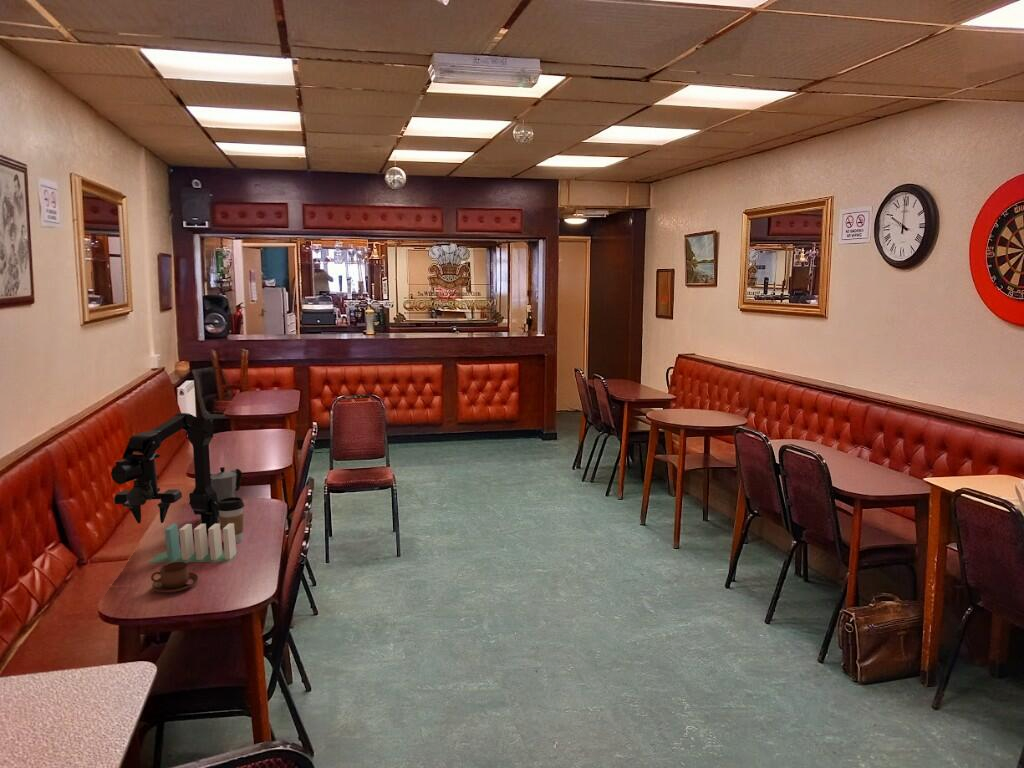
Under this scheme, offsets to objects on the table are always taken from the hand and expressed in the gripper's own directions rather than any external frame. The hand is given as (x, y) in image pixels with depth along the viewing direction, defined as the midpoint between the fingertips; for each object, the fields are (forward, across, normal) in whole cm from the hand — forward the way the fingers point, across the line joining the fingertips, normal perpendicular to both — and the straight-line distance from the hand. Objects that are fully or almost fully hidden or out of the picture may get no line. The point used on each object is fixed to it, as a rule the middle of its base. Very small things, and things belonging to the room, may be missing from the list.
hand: (150, 522), depth 229 cm
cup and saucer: (+12, +16, -20) cm, 29 cm away
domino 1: (+11, +6, 0) cm, 13 cm away
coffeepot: (+12, +7, +43) cm, 45 cm away
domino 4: (+11, +20, 0) cm, 23 cm away
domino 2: (+11, +11, 0) cm, 16 cm away
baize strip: (+12, +13, 0) cm, 18 cm away
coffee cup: (+12, +20, +13) cm, 27 cm away
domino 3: (+11, +15, 0) cm, 19 cm away
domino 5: (+11, +24, 0) cm, 27 cm away
